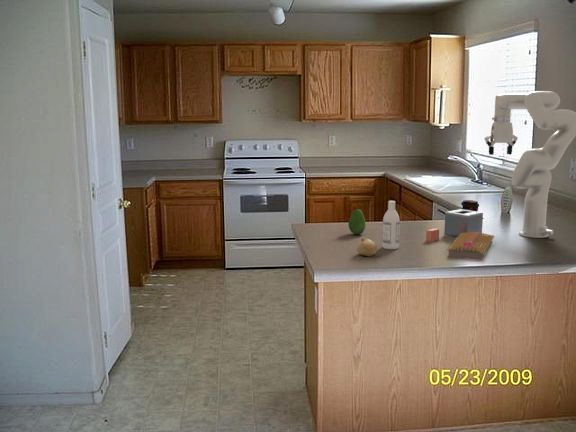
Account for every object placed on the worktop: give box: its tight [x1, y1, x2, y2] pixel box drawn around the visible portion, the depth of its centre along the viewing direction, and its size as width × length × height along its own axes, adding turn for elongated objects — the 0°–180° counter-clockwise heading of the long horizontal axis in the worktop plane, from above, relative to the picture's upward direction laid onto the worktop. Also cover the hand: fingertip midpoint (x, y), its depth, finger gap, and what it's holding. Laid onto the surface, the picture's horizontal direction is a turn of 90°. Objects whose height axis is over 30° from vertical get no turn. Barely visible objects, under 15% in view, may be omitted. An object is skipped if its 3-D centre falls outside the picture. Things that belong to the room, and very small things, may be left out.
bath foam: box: [381, 200, 401, 250], centre depth 254 cm, size 7×7×20 cm
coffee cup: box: [460, 199, 480, 212], centre depth 299 cm, size 9×8×13 cm
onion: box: [356, 237, 378, 257], centre depth 243 cm, size 8×8×7 cm
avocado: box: [348, 208, 366, 235], centre depth 282 cm, size 8×8×12 cm
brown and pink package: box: [446, 232, 495, 261], centre depth 252 cm, size 35×14×6 cm, turn 155°
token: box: [425, 228, 440, 243], centre depth 269 cm, size 2×6×5 cm, turn 130°
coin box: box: [443, 208, 484, 239], centre depth 279 cm, size 12×12×11 cm
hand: (500, 154), depth 302 cm, fingers open, 9 cm apart
